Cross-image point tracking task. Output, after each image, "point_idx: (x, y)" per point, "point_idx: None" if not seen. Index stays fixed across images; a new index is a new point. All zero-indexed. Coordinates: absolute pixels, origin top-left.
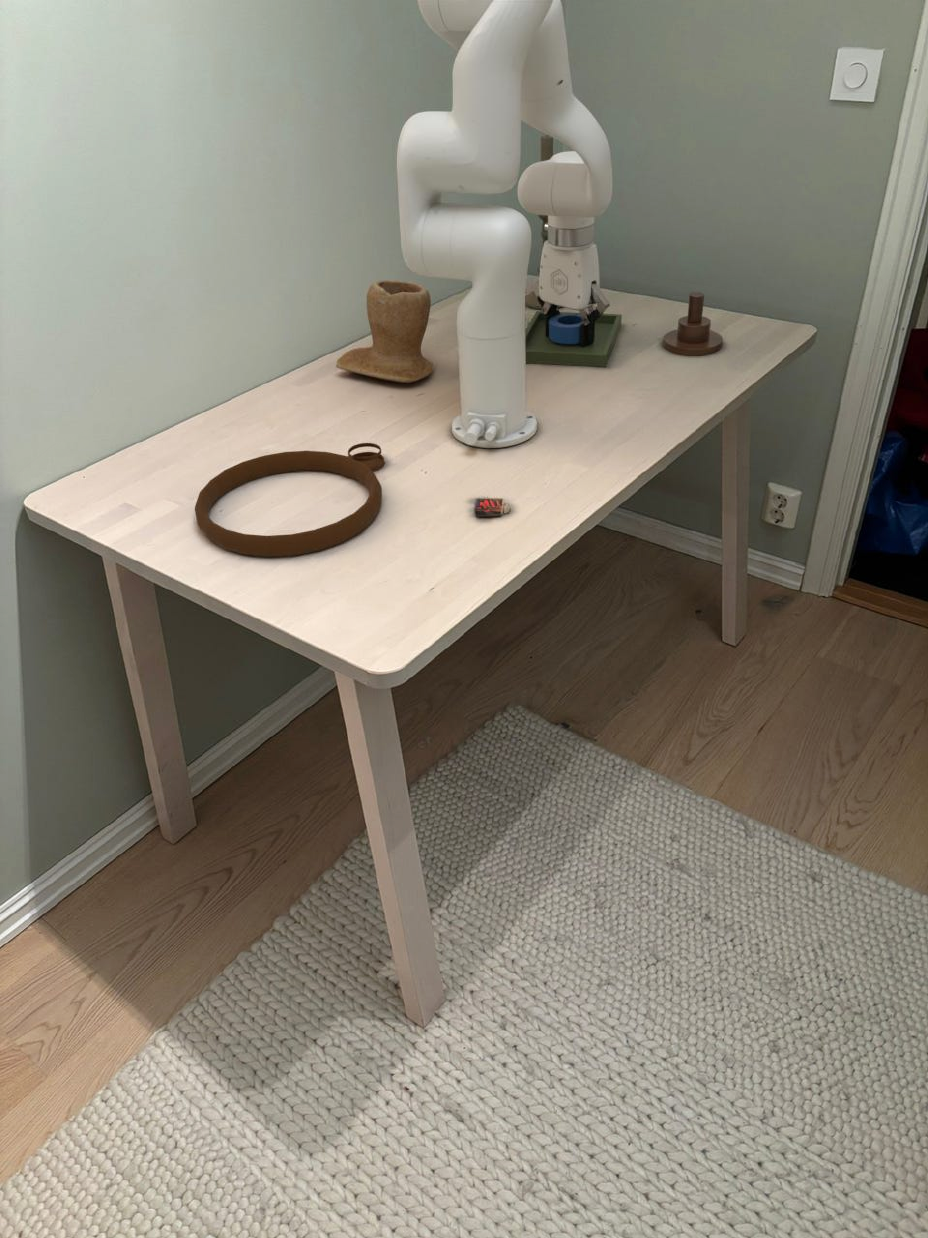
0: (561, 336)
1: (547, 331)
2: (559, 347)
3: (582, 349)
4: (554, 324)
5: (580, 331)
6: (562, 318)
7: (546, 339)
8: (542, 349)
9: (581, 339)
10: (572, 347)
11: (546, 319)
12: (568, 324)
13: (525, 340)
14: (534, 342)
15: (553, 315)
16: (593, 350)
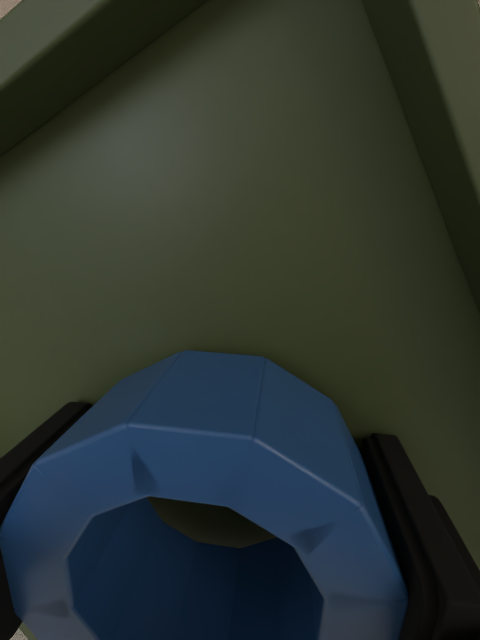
0: (159, 374)
1: (386, 456)
2: (189, 326)
3: (57, 376)
4: (233, 446)
5: (11, 469)
6: (312, 625)
7: (361, 399)
8: (267, 225)
9: (45, 426)
10: (123, 370)
11: (441, 549)
12: (277, 587)
13: (460, 195)
14: (410, 307)
15: (404, 636)
16: (3, 396)
